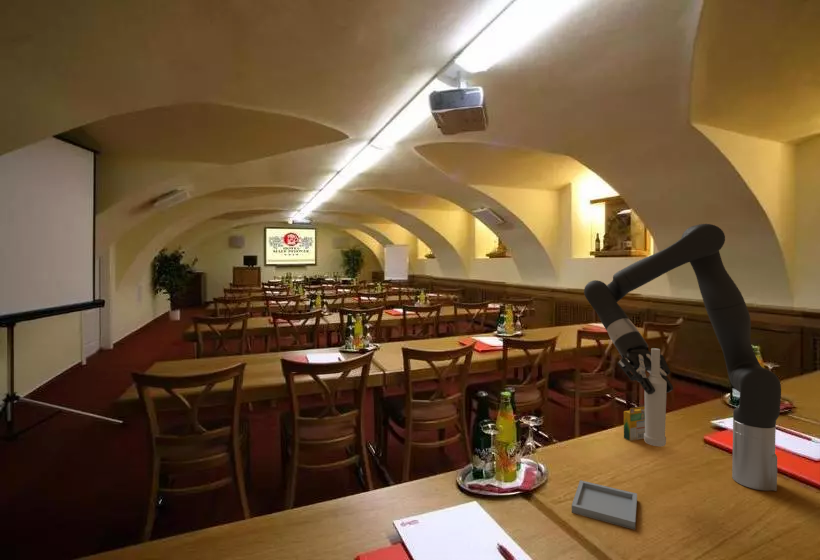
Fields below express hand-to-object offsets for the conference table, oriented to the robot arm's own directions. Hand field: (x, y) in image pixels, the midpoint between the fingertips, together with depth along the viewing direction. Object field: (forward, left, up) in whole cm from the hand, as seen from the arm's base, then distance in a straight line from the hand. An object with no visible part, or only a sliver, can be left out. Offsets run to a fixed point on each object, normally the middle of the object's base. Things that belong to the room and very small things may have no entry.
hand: (661, 391), depth 108 cm
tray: (+12, +10, -29) cm, 33 cm away
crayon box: (+7, -41, -29) cm, 51 cm away
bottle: (+1, -1, -14) cm, 15 cm away
